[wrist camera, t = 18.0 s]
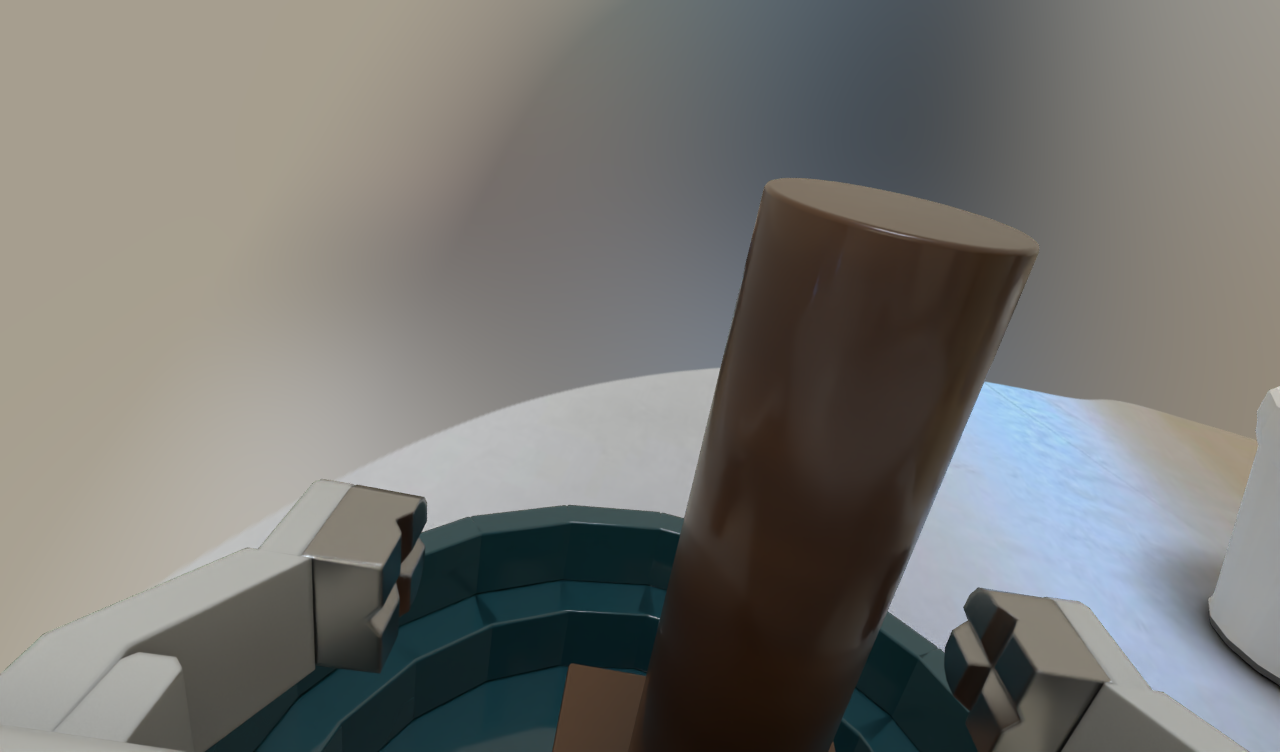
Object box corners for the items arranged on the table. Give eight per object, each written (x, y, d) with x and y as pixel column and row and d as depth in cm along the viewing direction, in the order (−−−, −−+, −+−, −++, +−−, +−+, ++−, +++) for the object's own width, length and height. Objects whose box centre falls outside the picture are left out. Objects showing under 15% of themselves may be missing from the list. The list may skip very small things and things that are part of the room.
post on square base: (484, 1124, 11) (637, 215, 5) (544, 802, 16) (661, 136, 10) (809, 1176, 11) (1351, 348, 5) (772, 841, 16) (1029, 206, 10)
